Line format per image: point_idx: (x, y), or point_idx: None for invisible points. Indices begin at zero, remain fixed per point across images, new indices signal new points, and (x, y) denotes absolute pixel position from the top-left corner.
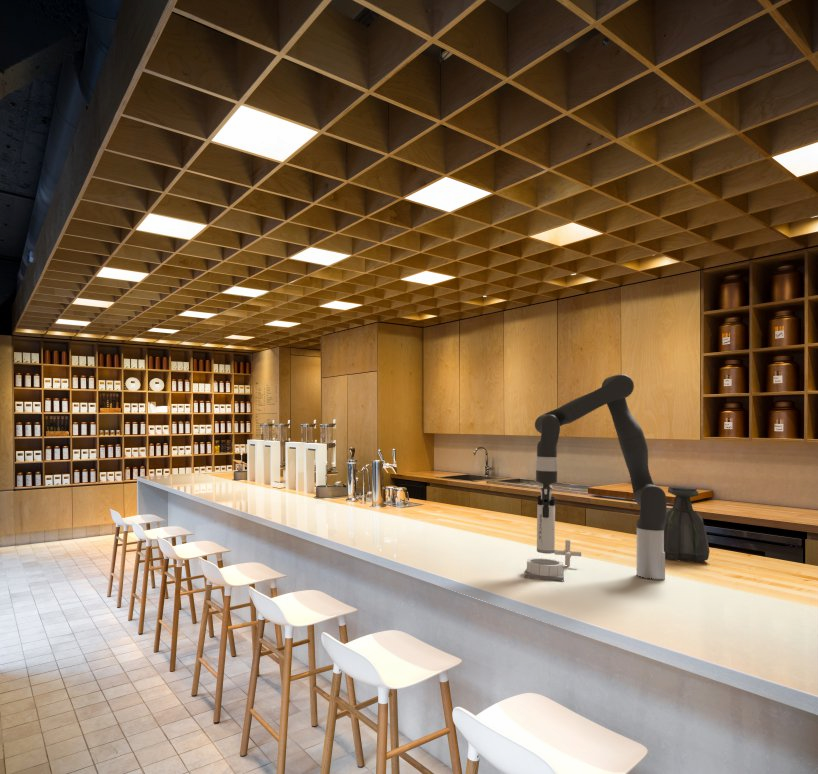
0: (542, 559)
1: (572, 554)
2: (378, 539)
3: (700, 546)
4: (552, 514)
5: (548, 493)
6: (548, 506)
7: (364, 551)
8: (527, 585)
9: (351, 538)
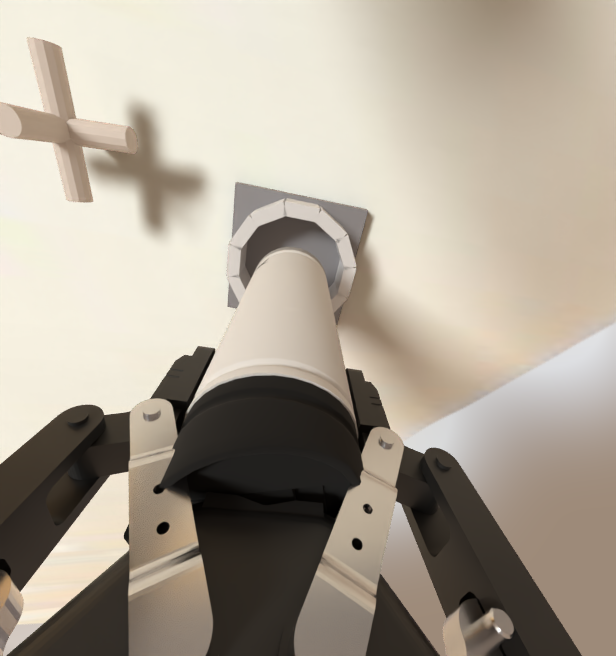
0: (239, 272)
1: (71, 104)
2: (53, 559)
3: None
4: (335, 352)
5: (552, 622)
6: (393, 437)
7: None
8: (420, 322)
9: (79, 584)
